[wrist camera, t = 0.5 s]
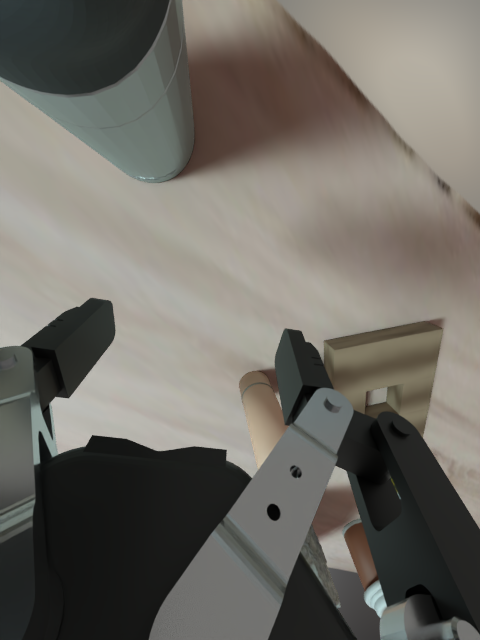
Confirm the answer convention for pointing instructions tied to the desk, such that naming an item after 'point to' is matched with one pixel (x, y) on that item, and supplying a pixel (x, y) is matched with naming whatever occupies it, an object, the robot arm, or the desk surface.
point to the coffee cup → (364, 565)
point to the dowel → (261, 414)
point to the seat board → (387, 369)
